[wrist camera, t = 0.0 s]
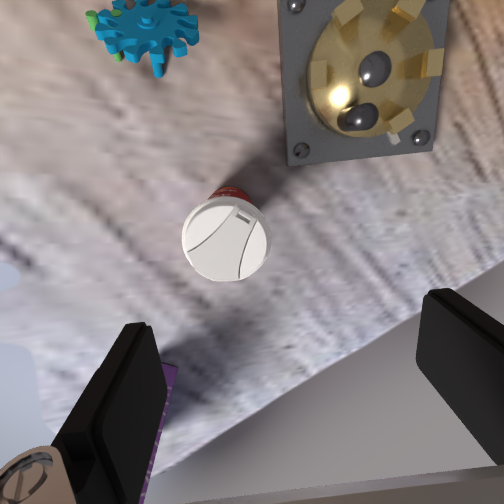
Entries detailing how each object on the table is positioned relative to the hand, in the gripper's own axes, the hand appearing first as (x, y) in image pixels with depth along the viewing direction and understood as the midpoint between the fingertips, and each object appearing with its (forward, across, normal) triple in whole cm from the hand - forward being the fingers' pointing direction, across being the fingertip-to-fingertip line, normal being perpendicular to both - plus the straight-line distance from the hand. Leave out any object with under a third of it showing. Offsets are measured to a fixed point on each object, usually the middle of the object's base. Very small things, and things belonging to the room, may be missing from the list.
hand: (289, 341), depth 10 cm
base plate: (+31, -14, -12) cm, 36 cm away
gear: (+32, +9, -18) cm, 37 cm away
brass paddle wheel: (+29, -14, -12) cm, 34 cm away
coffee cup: (+31, +3, +2) cm, 32 cm away
